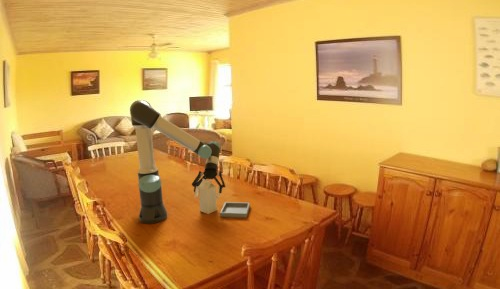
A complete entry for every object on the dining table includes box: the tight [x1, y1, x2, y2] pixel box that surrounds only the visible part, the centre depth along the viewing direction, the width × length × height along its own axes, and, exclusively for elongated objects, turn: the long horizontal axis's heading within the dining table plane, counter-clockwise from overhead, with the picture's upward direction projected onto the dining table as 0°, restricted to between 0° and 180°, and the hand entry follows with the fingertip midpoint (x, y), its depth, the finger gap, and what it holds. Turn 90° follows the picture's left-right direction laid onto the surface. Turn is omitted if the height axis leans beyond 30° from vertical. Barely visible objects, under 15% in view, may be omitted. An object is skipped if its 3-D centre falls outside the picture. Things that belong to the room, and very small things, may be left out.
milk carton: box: [198, 179, 218, 215], centre depth 175 cm, size 7×7×19 cm
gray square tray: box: [219, 201, 251, 219], centre depth 175 cm, size 15×15×2 cm
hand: (206, 197), depth 173 cm, fingers open, 12 cm apart
